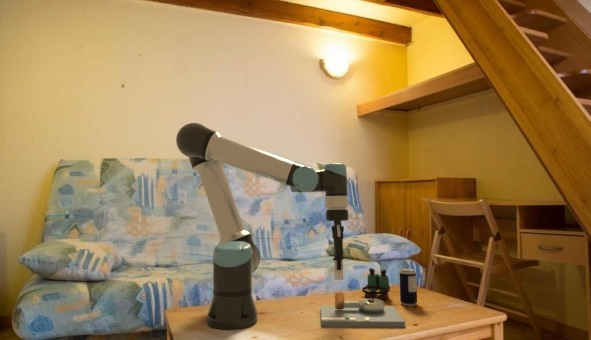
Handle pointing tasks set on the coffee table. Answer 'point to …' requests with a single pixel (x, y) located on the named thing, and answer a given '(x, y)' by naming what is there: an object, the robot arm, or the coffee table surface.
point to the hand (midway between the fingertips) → (339, 279)
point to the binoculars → (377, 285)
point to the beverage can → (408, 287)
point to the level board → (360, 317)
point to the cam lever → (359, 304)
